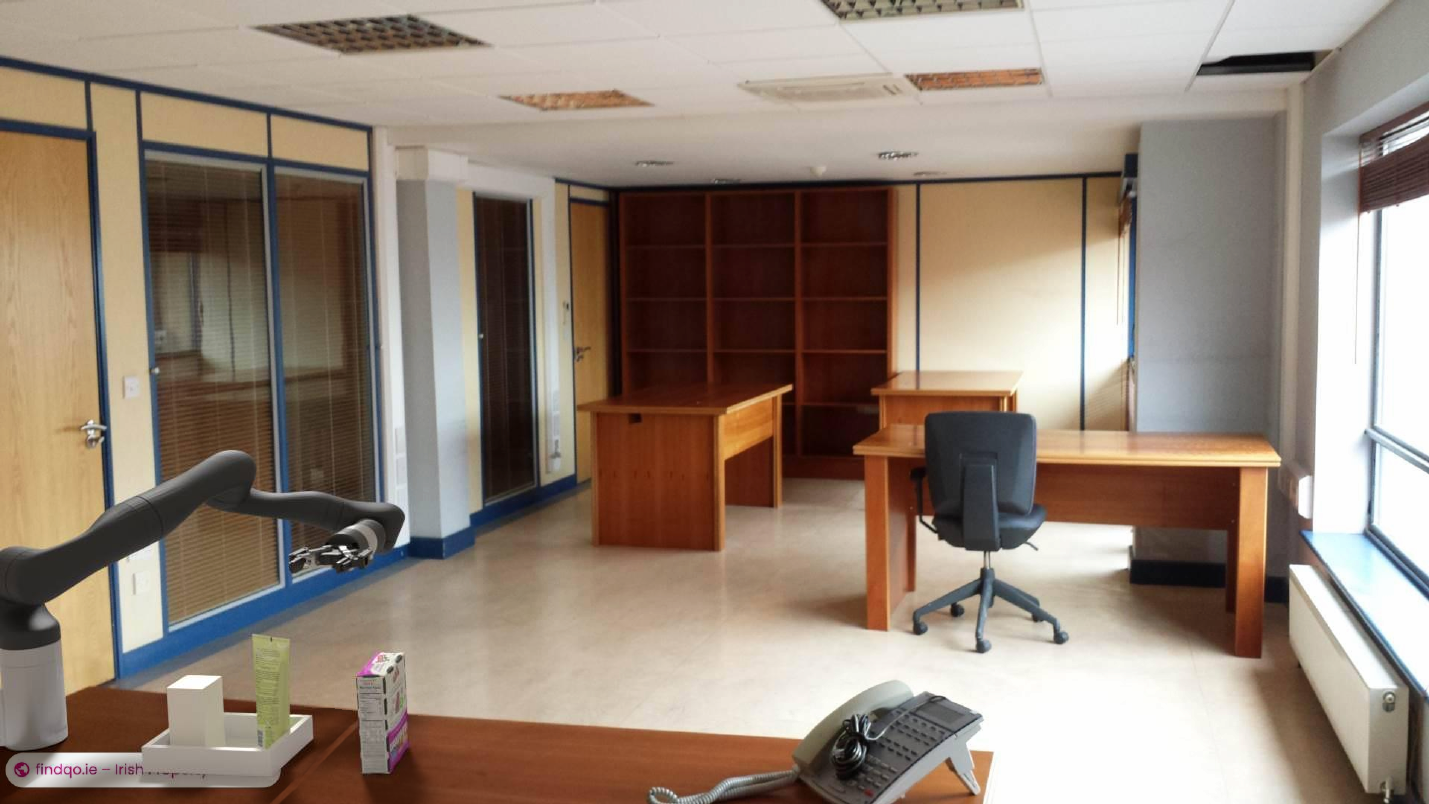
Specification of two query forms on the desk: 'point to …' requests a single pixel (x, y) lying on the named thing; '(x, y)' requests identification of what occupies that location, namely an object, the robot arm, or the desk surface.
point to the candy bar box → (382, 712)
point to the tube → (271, 688)
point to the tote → (230, 750)
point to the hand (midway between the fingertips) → (314, 568)
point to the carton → (196, 711)
